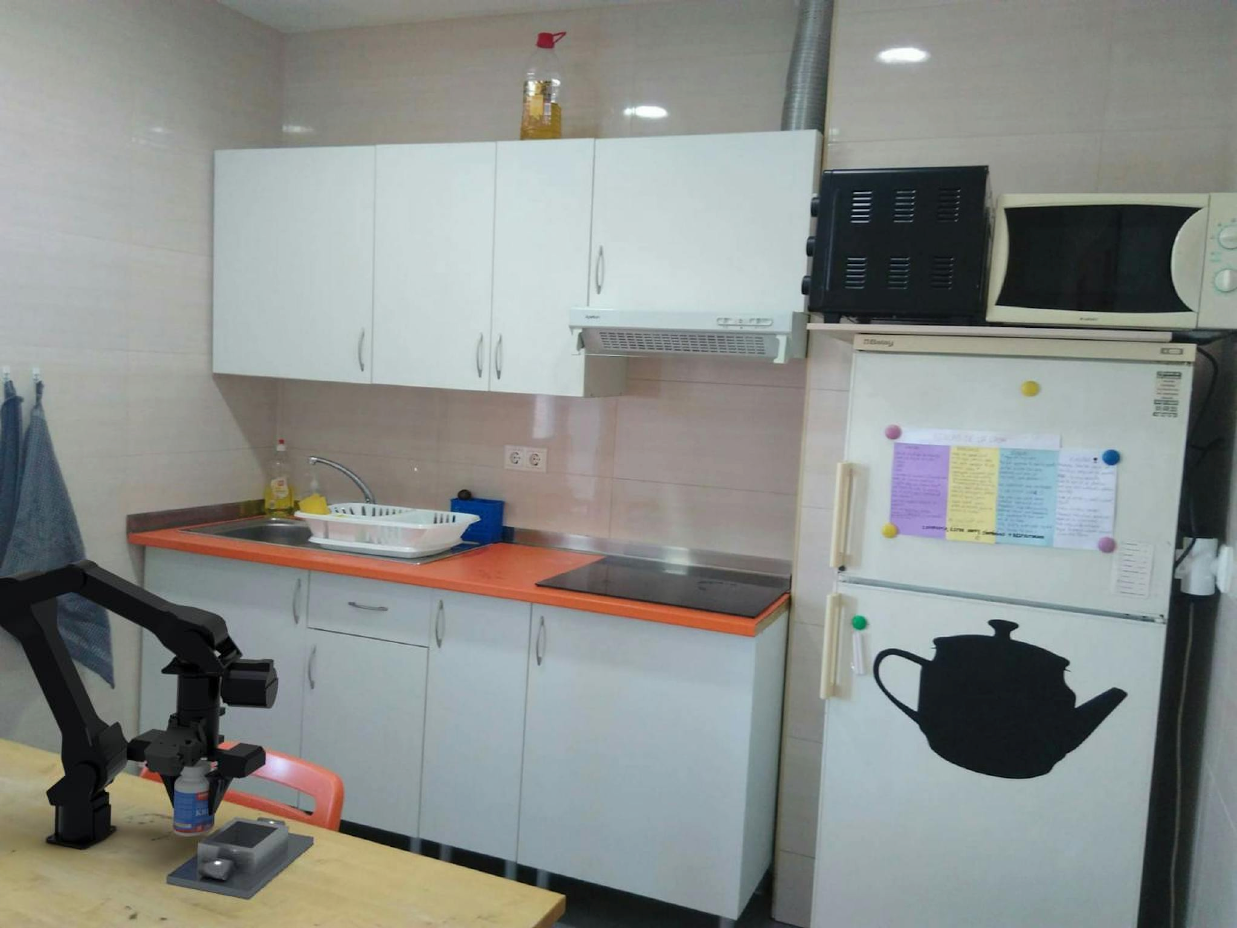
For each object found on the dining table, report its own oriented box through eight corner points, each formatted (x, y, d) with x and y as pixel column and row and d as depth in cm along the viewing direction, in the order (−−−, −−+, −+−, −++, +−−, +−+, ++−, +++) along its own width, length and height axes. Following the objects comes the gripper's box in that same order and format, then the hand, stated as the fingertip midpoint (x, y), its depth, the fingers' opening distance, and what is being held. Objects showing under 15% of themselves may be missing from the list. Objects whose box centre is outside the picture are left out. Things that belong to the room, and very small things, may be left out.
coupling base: (166, 882, 126) (167, 853, 126) (239, 830, 142) (240, 803, 142) (248, 898, 124) (249, 868, 124) (313, 843, 139) (314, 816, 139)
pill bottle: (199, 840, 134) (200, 771, 134) (164, 834, 136) (166, 767, 135) (222, 823, 140) (224, 757, 139) (189, 818, 141) (190, 753, 140)
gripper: (99, 712, 130) (95, 824, 132) (222, 732, 127) (217, 847, 128) (155, 689, 141) (151, 792, 142) (270, 706, 137) (265, 812, 139)
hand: (194, 811), depth 138 cm, fingers closed on pill bottle, 5 cm apart
